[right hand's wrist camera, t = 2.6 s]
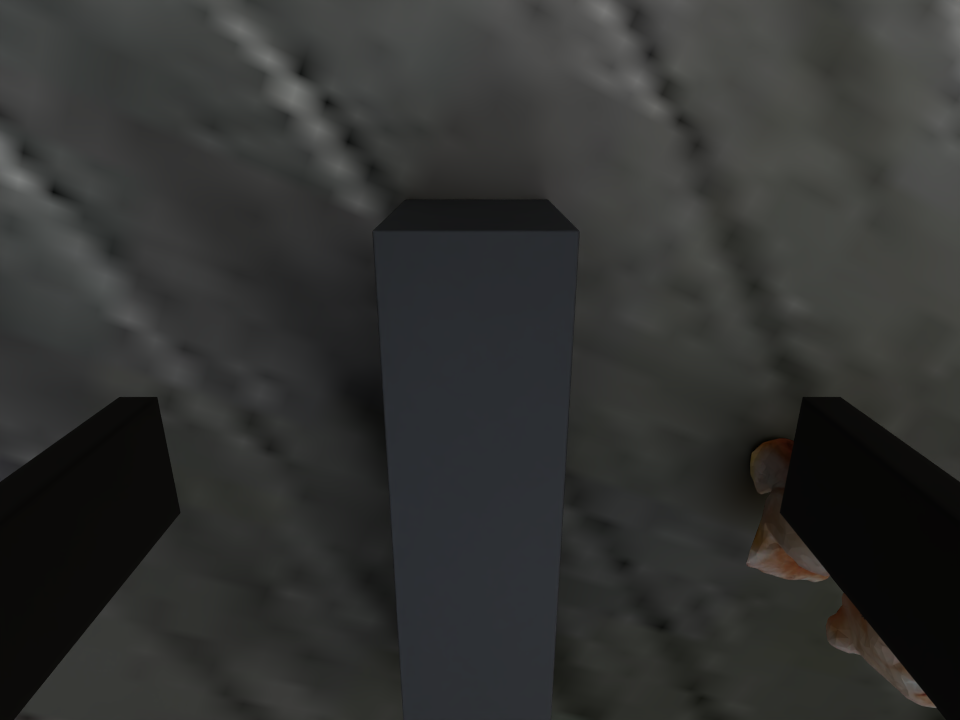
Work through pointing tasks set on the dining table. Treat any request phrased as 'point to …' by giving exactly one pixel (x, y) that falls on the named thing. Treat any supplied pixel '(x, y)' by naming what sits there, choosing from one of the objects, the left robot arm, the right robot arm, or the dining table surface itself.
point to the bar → (476, 447)
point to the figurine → (814, 570)
